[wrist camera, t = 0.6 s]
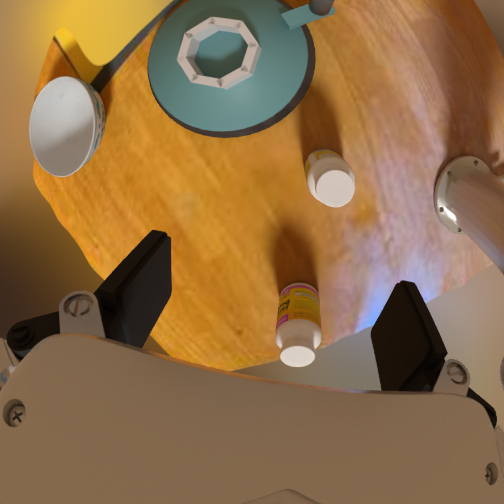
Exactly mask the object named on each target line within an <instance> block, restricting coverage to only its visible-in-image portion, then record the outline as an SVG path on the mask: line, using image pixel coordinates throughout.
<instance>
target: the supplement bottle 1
mask: <svg viewBox="0 0 504 504" xmlns="http://www.w3.org/2000/svg"><path fill="white" fill-rule="evenodd" d="M321 338H322V332H321V316H320V301H319V294H318V292H317V291H316V289H315V288H314V287H312V286H311V285H309V284H306V283H293V284H290V285H288V286H287V287H285V288H284V289H283V290H282V292H281V294H280V298H279V306H278V316H277V325H276V334H275V339H276V343H277V345H278V346H279V347H280V348H281V352H280V358H281V360H282V361H283V362H284V363H285V364H287V365H289V366H293V367H302V366H306V365H308V364H310V363H311V362H312V361H313V360H314V358H315V349H316V348H317V347H318V345H319V344H320V342H321Z"/></svg>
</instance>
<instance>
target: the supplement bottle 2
mask: <svg viewBox="0 0 504 504" xmlns="http://www.w3.org/2000/svg"><path fill="white" fill-rule="evenodd" d="M304 170H305V175H306V180H307V185H308V188H309V190H310V192H311V194H312V195H313V196H314V197H315V198H316V199H317V200H319V201H320V202H322V203H324V204H325V205H327V206H330V207H340V206H343V205H345V204H347V203H348V202H349V201H350V200H351V198H352V197H353V194H354V190H355V187H354V186H355V175H354V172H353V170H352V168H351V167H350V166H349V164H348V163H347V162H346V161H345V160H344V159H343V158H342V157H341V156H340V155H339V154H338V153H336V152H335V151H333V150H330V149H318V150H315V151H313V152H312V153H311V154H310V155H309V156H308V157H307V159H306V161H305V166H304Z"/></svg>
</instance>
